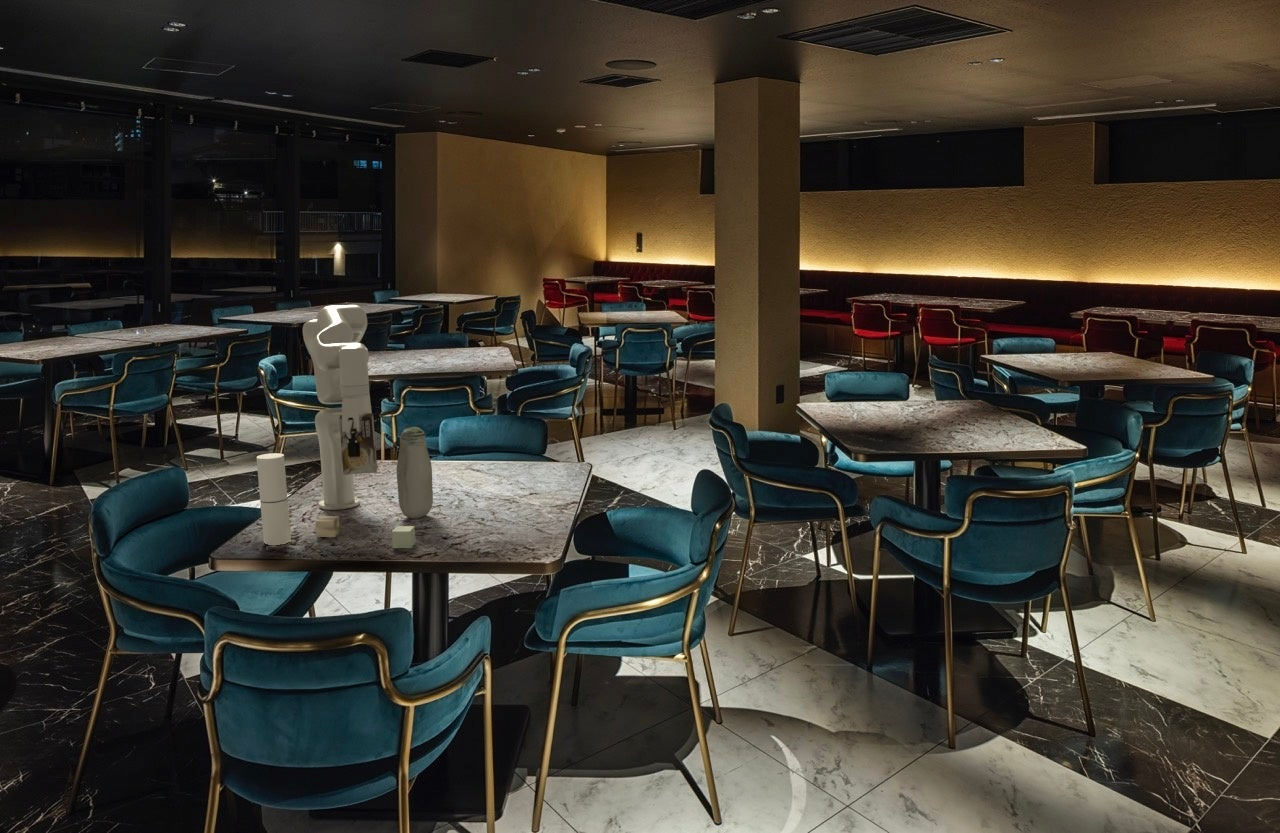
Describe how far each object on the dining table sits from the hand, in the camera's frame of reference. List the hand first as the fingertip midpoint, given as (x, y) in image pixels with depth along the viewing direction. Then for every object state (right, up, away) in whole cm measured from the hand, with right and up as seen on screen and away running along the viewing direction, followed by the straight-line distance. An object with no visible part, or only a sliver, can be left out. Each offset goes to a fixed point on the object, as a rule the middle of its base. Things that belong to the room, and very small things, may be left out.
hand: (359, 452), depth 263 cm
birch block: (-12, -24, +9) cm, 28 cm away
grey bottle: (+10, -21, +26) cm, 35 cm away
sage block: (+13, -26, -2) cm, 29 cm away
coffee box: (0, -5, +1) cm, 6 cm away
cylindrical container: (-24, -26, +2) cm, 35 cm away
